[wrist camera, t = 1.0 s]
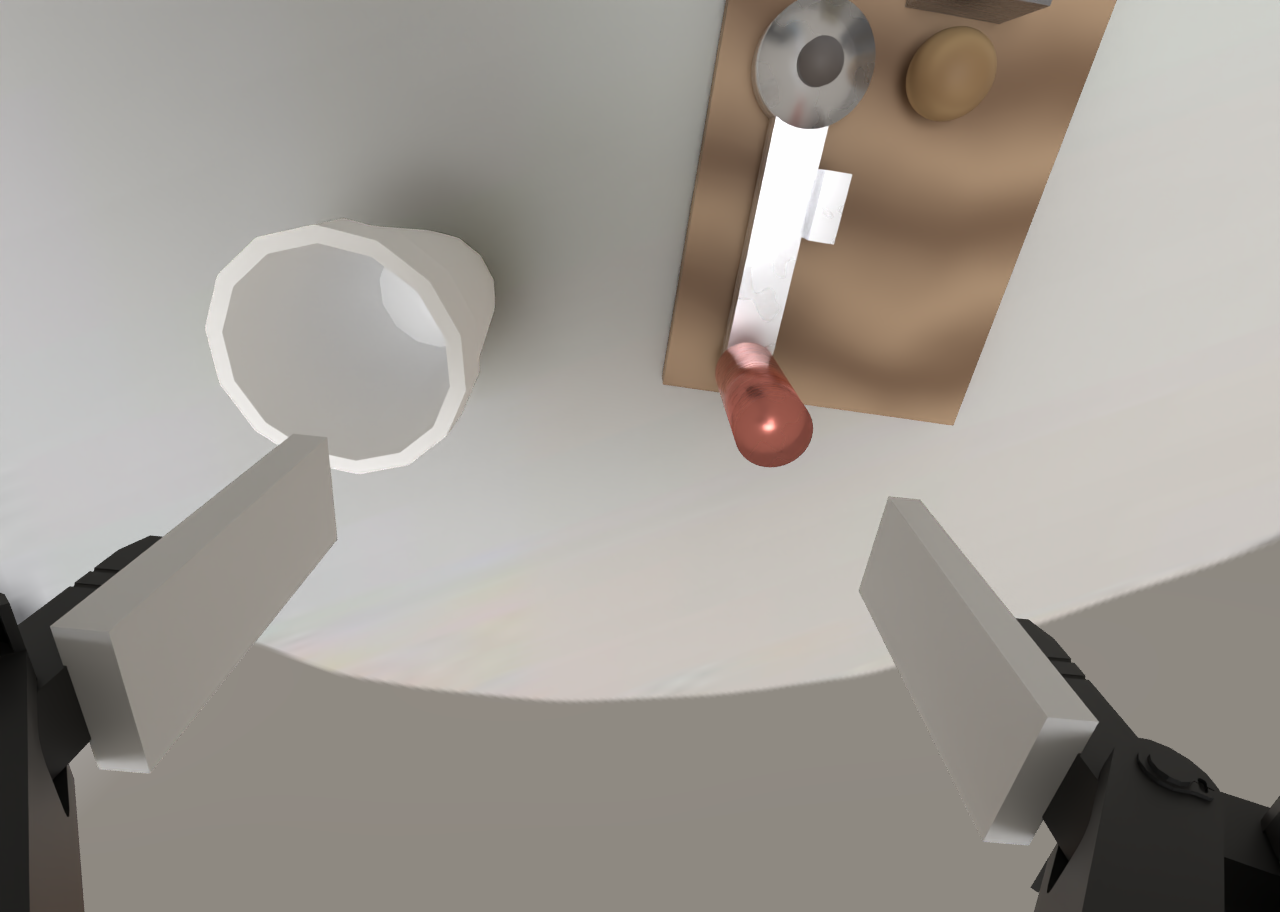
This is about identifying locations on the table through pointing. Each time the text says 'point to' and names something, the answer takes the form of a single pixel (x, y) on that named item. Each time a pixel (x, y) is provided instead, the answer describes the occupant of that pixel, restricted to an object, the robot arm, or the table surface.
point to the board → (884, 208)
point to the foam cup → (352, 337)
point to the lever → (787, 219)
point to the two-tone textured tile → (981, 8)
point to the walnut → (951, 73)
